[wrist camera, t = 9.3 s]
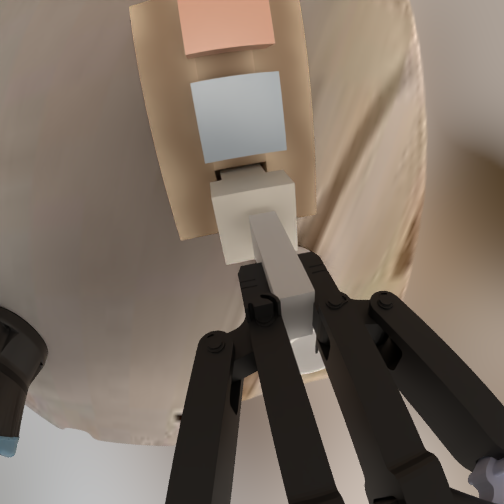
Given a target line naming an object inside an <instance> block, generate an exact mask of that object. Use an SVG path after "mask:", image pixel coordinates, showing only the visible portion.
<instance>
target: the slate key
mask: <svg viewBox="0 0 504 504" xmlns="http://www.w3.org/2000/svg"><path fill="white" fill-rule="evenodd" d="M190 85H191V91H192V96H193V102H194V107H195V113H196V118H197V124H198V129H199V134H200V140H201V145H202V150H203V155H204V160H205V164H206V163H211V162H216V161H222V160H227V159H232V158H238V157H244V156H250V155H256V154H262V153H269V152H276V151H284V150H287V146H286V134H285V124H284V113H283V104H282V94H281V85H280V77H279V71H274V72H261V73H252V74H243V75H235V76H228V77H221V78H215V79H210V80H204V81H199V82H194V83H190Z"/></svg>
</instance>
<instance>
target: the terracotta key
mask: <svg viewBox="0 0 504 504" xmlns="http://www.w3.org/2000/svg"><path fill="white" fill-rule="evenodd" d="M177 3H178V10H179V17H180V23H181V30H182V36H183V43H184V49H185V55H186V57H187V59H191V58H196V57H201V56H207V55H213V54H219V53H226V52H234V51H243V50H253V49H265V48H267V47H269V46H271V45H273V44H275V38H274V31H273V24H272V18H271V11H270V5H269V0H177Z"/></svg>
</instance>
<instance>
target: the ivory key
mask: <svg viewBox="0 0 504 504" xmlns="http://www.w3.org/2000/svg"><path fill="white" fill-rule="evenodd" d="M220 174H221V179H222V180H220V181H215V182H210V189H211V199H212V203H213V208H214V213H215V217H216V222H217V226H218V231H219V235H220V240H221V244H222V249H223V253H224V258H225V262H226V265H229V264H234V263H239V262H244V261H249V260H254V259H255V256H254V250H253V243H252V236H251V230H250V223H249V215H254V214H260V213H265V212H271V211H275V212H276V214H277V216H278V218H279V220H280V222H281V224H282V226H283V227H284V229H285V231H286V233H287V235H288V237H289V239H290V241H291V243H292V245H293V247H294V249H295V251H298V242H297V217H296V197H295V183H294V182H293V181H292V179H291V178H290V177H289V176H288V175H287V174H286V172H285V171H284V170H277V171H271V172H265V171H264V170H263V168H262V167H261V165H260V164H259V163H258V164H252V165H246V166H240V167H235V168H229V169H224V170H220Z"/></svg>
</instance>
